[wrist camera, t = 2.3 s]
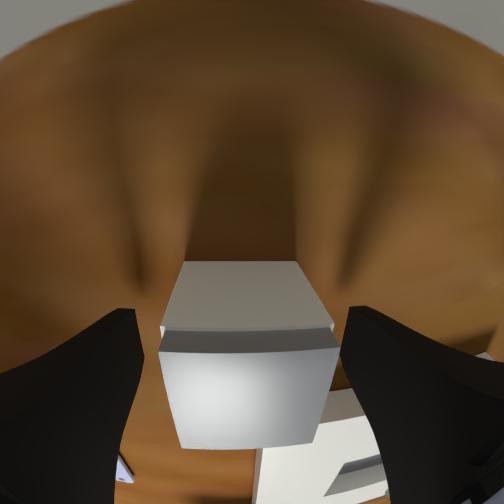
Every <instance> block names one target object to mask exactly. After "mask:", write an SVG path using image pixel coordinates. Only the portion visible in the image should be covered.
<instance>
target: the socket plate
mask: <svg viewBox="0 0 504 504" xmlns="http://www.w3.org/2000/svg"><path fill="white" fill-rule="evenodd" d="M475 356H477V357H481V358H484V359H488V360H492V361H495V360H494V359H493V358H491V357H490V356H489V355H488V354H487V353H486V352H483V353H481V354H478V355H475ZM385 494H386V497H387V496H390V495H389V489H388V484H387V479H386V474H385V470H384V467H383V463H382V459H381V455H380V452H379V449H378V446H377V442H376V439H375V436H374V433H373V431H372V428H371V426H370V424H369V421H368V419H367V417H366V415H365V413H364V411H363V409H362V407H361V405H360V403H359V401H358V399H357V397H356V395H355V393H354V391H353V389H352V388H350V389H344V390H337V391H330V392H329V393H328V396H327V400H326V403H325V406H324V410H323V413H322V416H321V419H320V422H319V425H318V428H317V431H316V434H315V437H314V440H313V442H312V443H309V444H301V445H293V446H284V447H272V448H258V449H256V460H255V472H254V483H253V494H252V504H357V503H361V502H364V501H367V500H370V499H374V498H377V497H380V496H383V495H385Z"/></svg>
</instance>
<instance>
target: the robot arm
mask: <svg viewBox="0 0 504 504" xmlns="http://www.w3.org/2000/svg"><path fill="white" fill-rule="evenodd" d="M339 354H340V358H341V361H342V364H343V367H344V370H345V373H346V376H347V378H348V381H349V383H350V385H351V387H352V389H353V391H354V393H355V395H356V397H357V399H358V401H359V403H360V405H361V407H362V409H363V411H364V413H365V415H366V417H367V419H368V421H369V424H370V426H371V428H372V431H373V433H374V436H375V439H376V442H377V446H378V449H379V452H380V455H381V459H382V463H383V467H384V470H385V474H386V479H387V484H388V489H389V495H390V501H391V504H504V363H502V362H497V361H492V360H488V359H484V358H481V357H477V356H473V355H470V354H467V353H464V352H461V351H459V350H456V349H453V348H451V347H448V346H446V345H443V344H441V343H439V342H436V341H434V340H432V339H430V338H428V337H426V336H424V335H422V334H420V333H418V332H416V331H414V330H412V329H410V328H408V327H406V326H405V325H403V324H401V323H399V322H397V321H395V320H394V319H392V318H390V317H388V316H386V315H384V314H382V313H380V312H378V311H376V310H374V309H372V308H370V307H367V306H353V307H349V312H348V317H347V322H346V327H345V331H344V335H343V340H342V344H341V348H340V352H339ZM143 363H144V353H143V348H142V344H141V339H140V334H139V329H138V324H137V319H136V314H135V309H125V308H118V309H116V310H114V311H112V312H110V313H109V314H107V315H106V316H104V317H102V318H101V319H99V320H98V321H97V322H95V323H94V324H92V325H91V326H89V327H88V328H86V329H85V330H83V331H82V332H80V333H79V334H77V335H76V336H74V337H72V338H71V339H69V340H68V341H66V342H64V343H63V344H61V345H60V346H58V347H56V348H55V349H53V350H51V351H50V352H48V353H46V354H44V355H42V356H40V357H38V358H36V359H34V360H32V361H30V362H28V363H26V364H24V365H21V366H19V367H16V368H13V369H11V370H8V371H6V372H3V373H0V504H114V492H115V480H118V481H123V482H128V483H134V480H135V478H134V477H133V475H132V474H131V472H130V471H129V469H128V468H127V466H126V465H125V463H124V462H123V460H122V459H121V457H120V455H119V449H120V443H121V439H122V435H123V431H124V428H125V425H126V422H127V419H128V415H129V412H130V409H131V406H132V403H133V400H134V397H135V394H136V391H137V388H138V385H139V382H140V378H141V373H142V368H143Z"/></svg>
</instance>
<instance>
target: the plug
mask: <svg viewBox="0 0 504 504" xmlns="http://www.w3.org/2000/svg"><path fill="white" fill-rule="evenodd" d="M333 327H334V322H333V320H332V319H331V317H330V315H329V314H328V312H327V310H326V309H325V307H324V306H323V304H322V302H321V301H320V299H319V297H318V296H317V294H316V292H315V291H314V289H313V288H312V286H311V284H310V283H309V281H308V279H307V278H306V276H305V275H304V273H303V271H302V270H301V268H300V267H299V265H298V263H297V262H296V261H184V263H183V266H182V268H181V271H180V273H179V276H178V279H177V281H176V284H175V287H174V289H173V292H172V295H171V297H170V300H169V303H168V305H167V308H166V311H165V314H164V317H163V319H162V322H161V325H160V329H161V335H162V341H161V344H160V347H159V351H158V353H159V358H160V363H161V368H162V373H163V377H164V382H165V386H166V391H167V395H168V399H169V403H170V407H171V411H172V415H173V419H174V423H175V426H176V430H177V433H178V437H179V440H180V444H181V447H182V448H188V449H258V448H272V447H284V446H293V445H301V444H309V443H312V442H313V440H314V437H315V434H316V431H317V428H318V425H319V422H320V419H321V416H322V413H323V410H324V406H325V403H326V400H327V396H328V393H329V390H330V386H331V383H332V379H333V375H334V372H335V368H336V364H337V360H338V356H339V352H340V348H341V347H340V345H339V343H338V341H337V339H336V338H335V336H334V334H333Z"/></svg>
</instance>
